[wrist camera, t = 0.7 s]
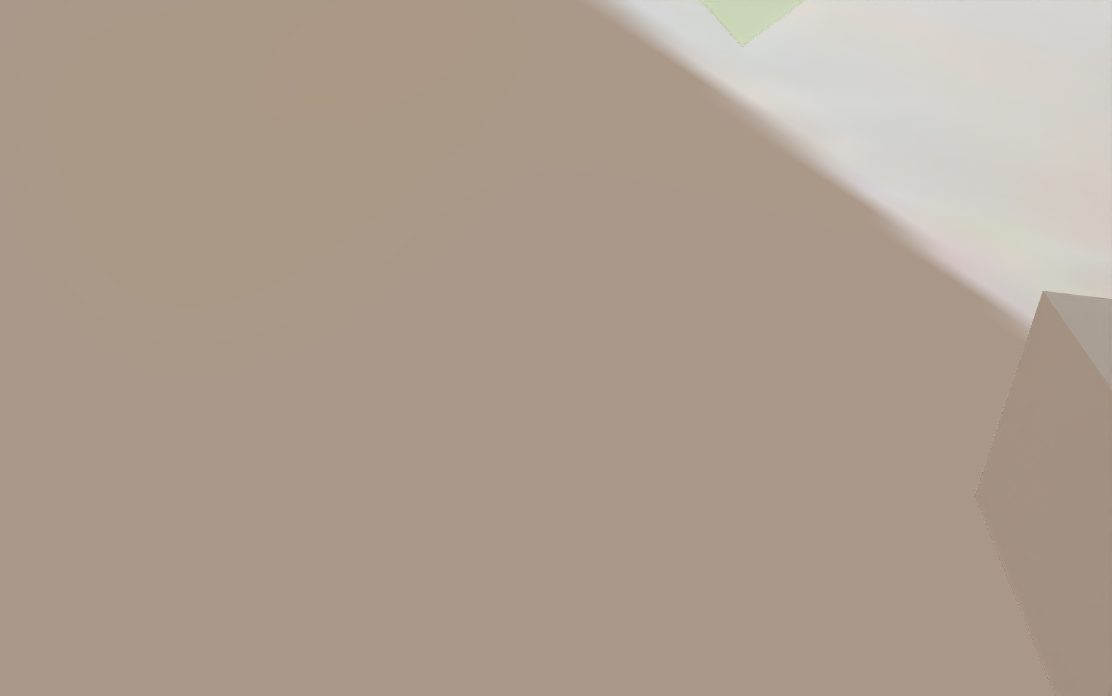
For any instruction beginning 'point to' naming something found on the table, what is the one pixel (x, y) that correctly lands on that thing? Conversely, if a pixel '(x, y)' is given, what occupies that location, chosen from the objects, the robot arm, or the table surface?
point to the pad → (749, 15)
